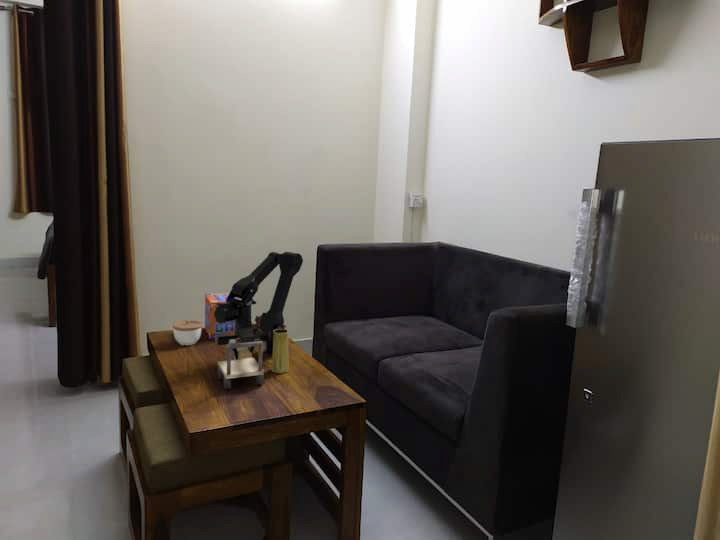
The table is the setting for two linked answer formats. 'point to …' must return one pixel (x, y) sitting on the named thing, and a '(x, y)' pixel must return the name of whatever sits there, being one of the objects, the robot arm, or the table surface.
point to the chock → (243, 353)
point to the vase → (280, 351)
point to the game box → (210, 321)
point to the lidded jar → (187, 332)
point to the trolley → (241, 365)
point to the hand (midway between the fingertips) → (242, 359)
